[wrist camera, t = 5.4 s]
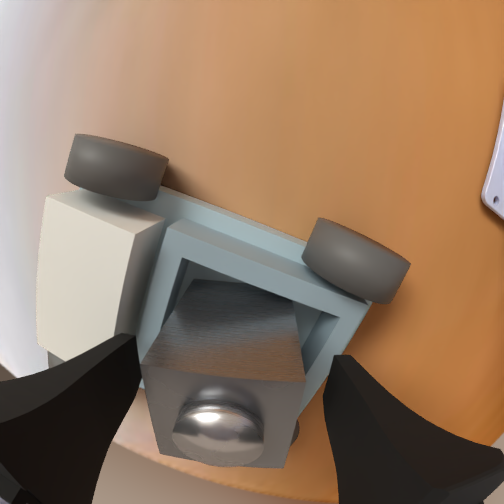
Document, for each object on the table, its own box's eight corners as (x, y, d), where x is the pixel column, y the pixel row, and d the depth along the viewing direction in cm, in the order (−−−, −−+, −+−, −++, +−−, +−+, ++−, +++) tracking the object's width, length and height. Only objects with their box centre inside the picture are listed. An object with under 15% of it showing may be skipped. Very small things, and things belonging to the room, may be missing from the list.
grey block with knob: (289, 286, 12) (308, 398, 6) (279, 363, 13) (283, 482, 7) (193, 278, 12) (131, 378, 6) (195, 356, 13) (155, 466, 7)
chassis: (387, 246, 13) (430, 277, 9) (285, 418, 16) (287, 472, 12) (107, 137, 12) (52, 130, 8) (71, 333, 15) (33, 370, 11)
